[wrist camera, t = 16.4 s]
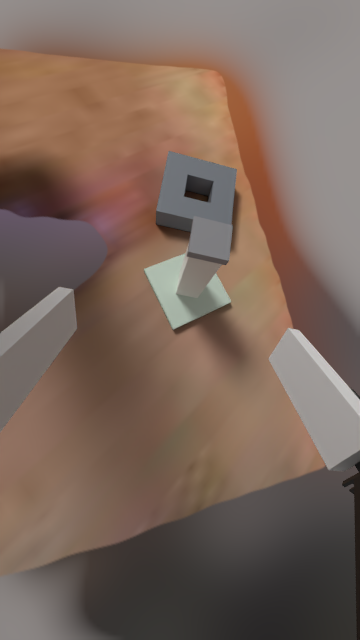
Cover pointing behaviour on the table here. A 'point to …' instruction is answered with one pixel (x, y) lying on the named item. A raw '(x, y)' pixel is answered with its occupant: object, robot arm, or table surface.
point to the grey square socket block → (199, 180)
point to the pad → (182, 306)
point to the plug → (203, 255)
